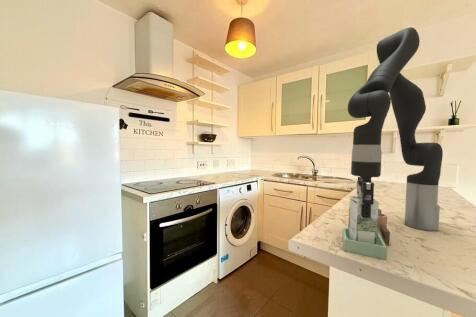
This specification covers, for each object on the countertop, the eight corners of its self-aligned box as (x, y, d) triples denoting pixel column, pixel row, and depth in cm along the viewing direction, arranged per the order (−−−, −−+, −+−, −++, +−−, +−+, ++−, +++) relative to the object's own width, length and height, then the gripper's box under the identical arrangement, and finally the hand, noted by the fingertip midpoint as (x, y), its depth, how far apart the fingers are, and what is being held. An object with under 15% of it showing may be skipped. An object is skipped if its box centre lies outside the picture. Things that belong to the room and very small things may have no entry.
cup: (383, 228, 76) (384, 213, 76) (387, 234, 70) (388, 217, 70) (365, 225, 78) (366, 210, 78) (367, 231, 73) (368, 215, 73)
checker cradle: (383, 235, 69) (384, 223, 69) (389, 245, 62) (389, 232, 62) (348, 229, 74) (348, 218, 74) (349, 238, 67) (350, 226, 67)
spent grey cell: (379, 227, 75) (380, 207, 75) (381, 229, 73) (382, 209, 72) (371, 225, 76) (371, 206, 76) (372, 228, 74) (373, 208, 73)
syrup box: (366, 241, 63) (368, 196, 62) (376, 250, 57) (379, 200, 57) (347, 239, 64) (349, 195, 63) (355, 248, 58) (357, 199, 57)
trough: (378, 244, 63) (379, 233, 63) (386, 259, 54) (387, 247, 54) (342, 237, 67) (342, 227, 67) (343, 250, 58) (344, 239, 58)
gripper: (386, 161, 51) (384, 223, 52) (376, 159, 64) (374, 209, 65) (353, 160, 55) (351, 218, 55) (349, 159, 68) (348, 206, 68)
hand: (363, 213), depth 60 cm, fingers open, 8 cm apart
